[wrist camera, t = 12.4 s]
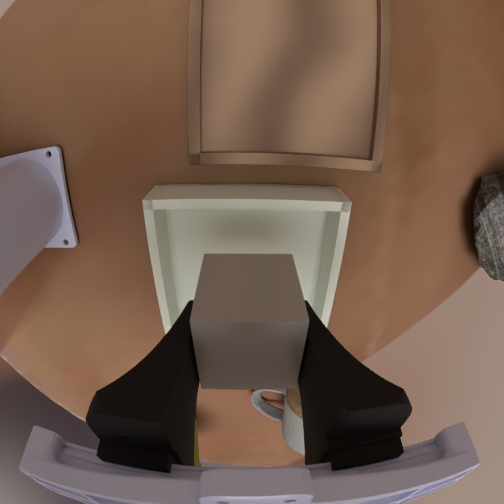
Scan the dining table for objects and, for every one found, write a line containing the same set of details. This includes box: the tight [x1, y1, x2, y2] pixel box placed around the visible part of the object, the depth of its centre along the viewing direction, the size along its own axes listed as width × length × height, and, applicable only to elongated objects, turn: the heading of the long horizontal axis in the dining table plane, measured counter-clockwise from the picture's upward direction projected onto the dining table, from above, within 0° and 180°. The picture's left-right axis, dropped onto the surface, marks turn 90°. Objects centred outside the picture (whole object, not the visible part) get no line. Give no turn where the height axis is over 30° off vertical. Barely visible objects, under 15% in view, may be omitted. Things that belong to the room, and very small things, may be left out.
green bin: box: [142, 183, 352, 334], centre depth 21 cm, size 12×14×3 cm
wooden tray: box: [188, 0, 391, 172], centre depth 15 cm, size 12×14×1 cm
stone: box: [190, 253, 309, 390], centre depth 13 cm, size 4×4×4 cm
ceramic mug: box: [251, 382, 305, 455], centre depth 27 cm, size 11×8×8 cm
